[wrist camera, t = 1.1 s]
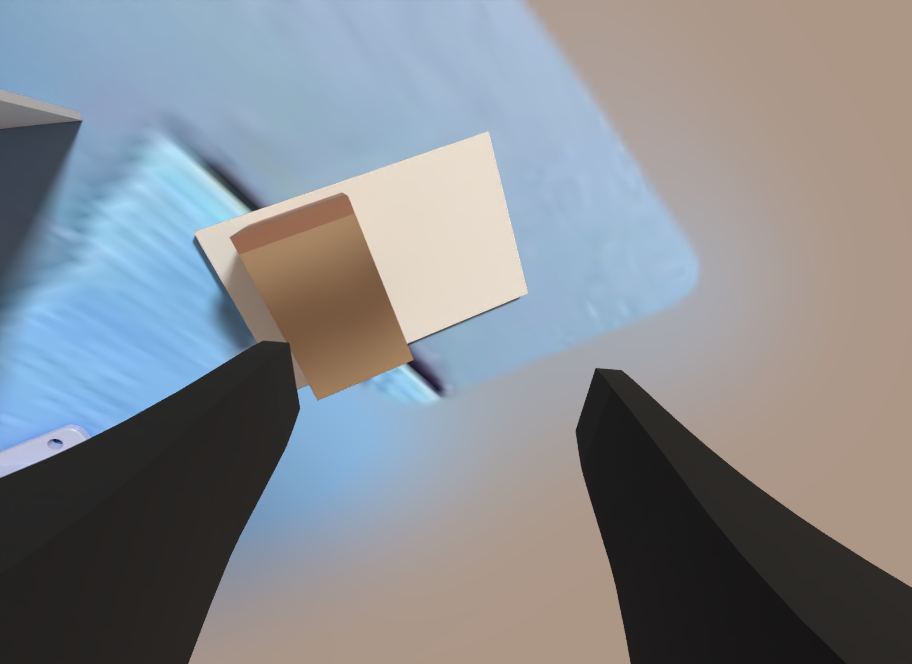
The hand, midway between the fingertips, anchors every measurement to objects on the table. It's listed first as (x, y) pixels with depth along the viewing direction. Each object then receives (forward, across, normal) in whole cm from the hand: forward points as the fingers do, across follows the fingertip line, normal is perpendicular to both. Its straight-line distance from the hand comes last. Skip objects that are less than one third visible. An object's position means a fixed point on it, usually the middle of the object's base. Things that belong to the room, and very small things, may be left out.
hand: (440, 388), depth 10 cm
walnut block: (+9, +5, +2) cm, 11 cm away
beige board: (+10, +3, +2) cm, 11 cm away
